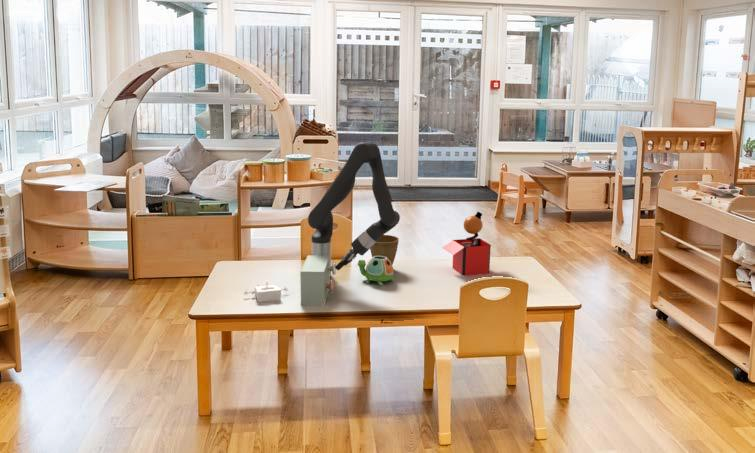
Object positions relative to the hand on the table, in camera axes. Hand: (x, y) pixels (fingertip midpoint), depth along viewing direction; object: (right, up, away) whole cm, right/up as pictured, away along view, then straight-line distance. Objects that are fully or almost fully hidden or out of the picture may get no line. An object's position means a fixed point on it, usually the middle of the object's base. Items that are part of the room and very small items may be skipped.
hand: (336, 268), depth 345 cm
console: (-9, -12, -3) cm, 15 cm away
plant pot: (+21, -3, +38) cm, 44 cm away
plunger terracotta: (-8, -10, -10) cm, 16 cm away
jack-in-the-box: (+65, -3, +38) cm, 75 cm away
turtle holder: (+18, -7, +19) cm, 27 cm away
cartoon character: (-31, -12, -4) cm, 34 cm away
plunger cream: (-7, -2, +1) cm, 8 cm away
